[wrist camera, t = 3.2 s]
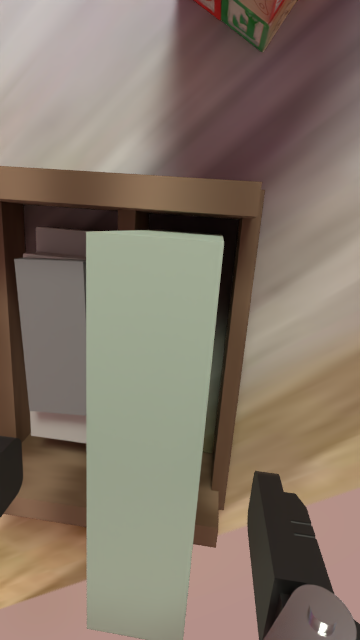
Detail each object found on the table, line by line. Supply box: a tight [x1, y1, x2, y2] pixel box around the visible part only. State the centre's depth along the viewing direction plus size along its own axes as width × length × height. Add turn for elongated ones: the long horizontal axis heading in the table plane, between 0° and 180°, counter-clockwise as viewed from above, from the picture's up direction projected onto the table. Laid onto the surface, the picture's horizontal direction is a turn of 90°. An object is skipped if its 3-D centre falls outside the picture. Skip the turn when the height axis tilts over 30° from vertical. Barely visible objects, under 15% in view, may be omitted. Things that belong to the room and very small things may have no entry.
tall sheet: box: [86, 230, 224, 640], centre depth 19 cm, size 4×16×14 cm, turn 176°
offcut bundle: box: [14, 227, 91, 443], centre depth 24 cm, size 5×15×5 cm, turn 175°
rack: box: [0, 166, 265, 547], centre depth 22 cm, size 18×21×7 cm
